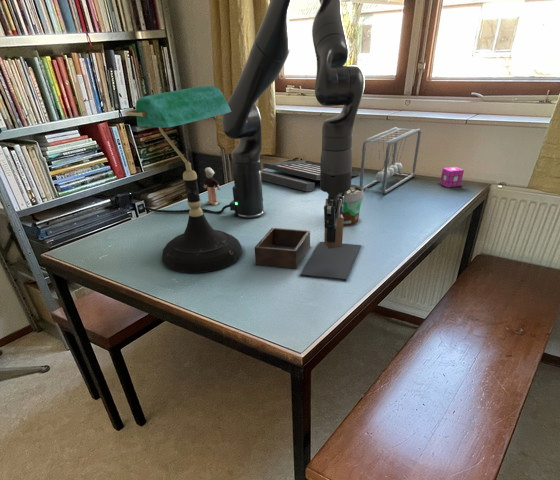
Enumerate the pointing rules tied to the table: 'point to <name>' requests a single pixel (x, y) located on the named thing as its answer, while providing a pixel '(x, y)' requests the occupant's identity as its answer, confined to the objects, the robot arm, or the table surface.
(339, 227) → the wooden block
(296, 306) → the table surface
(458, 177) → the puzzle toy
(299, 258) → the crate
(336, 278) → the mat
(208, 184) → the grandmother figurine
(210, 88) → the banker's lamp
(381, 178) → the newton's cradle
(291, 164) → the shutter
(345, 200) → the food container
